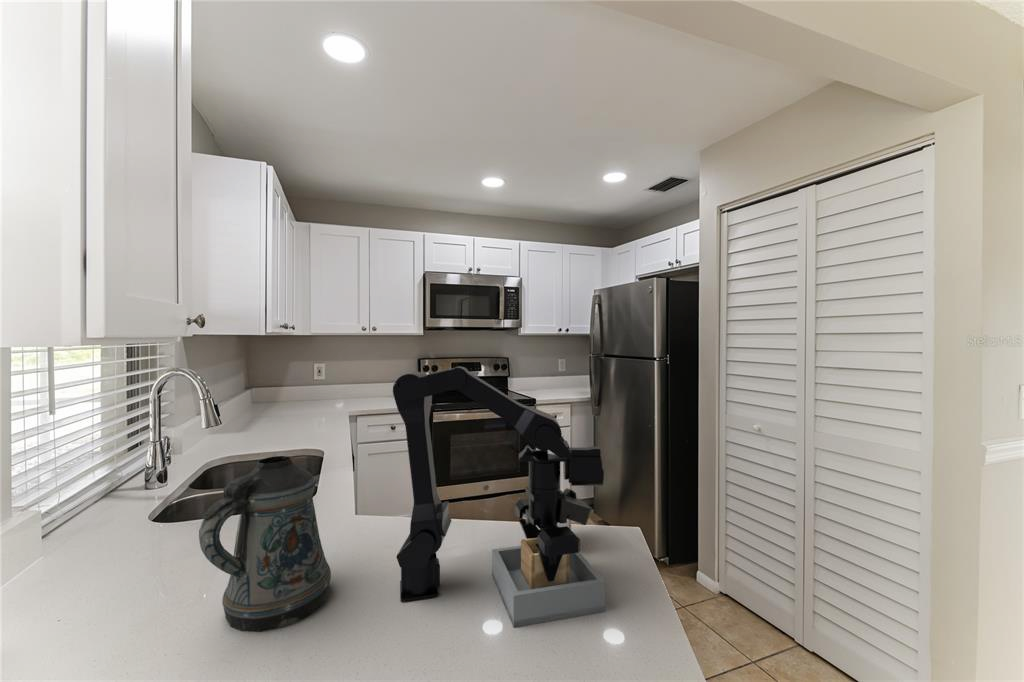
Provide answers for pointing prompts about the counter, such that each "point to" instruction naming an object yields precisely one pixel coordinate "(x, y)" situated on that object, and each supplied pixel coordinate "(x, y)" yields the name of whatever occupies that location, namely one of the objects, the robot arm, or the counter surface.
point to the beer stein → (269, 547)
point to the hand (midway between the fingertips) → (544, 571)
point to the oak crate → (540, 566)
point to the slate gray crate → (546, 590)
